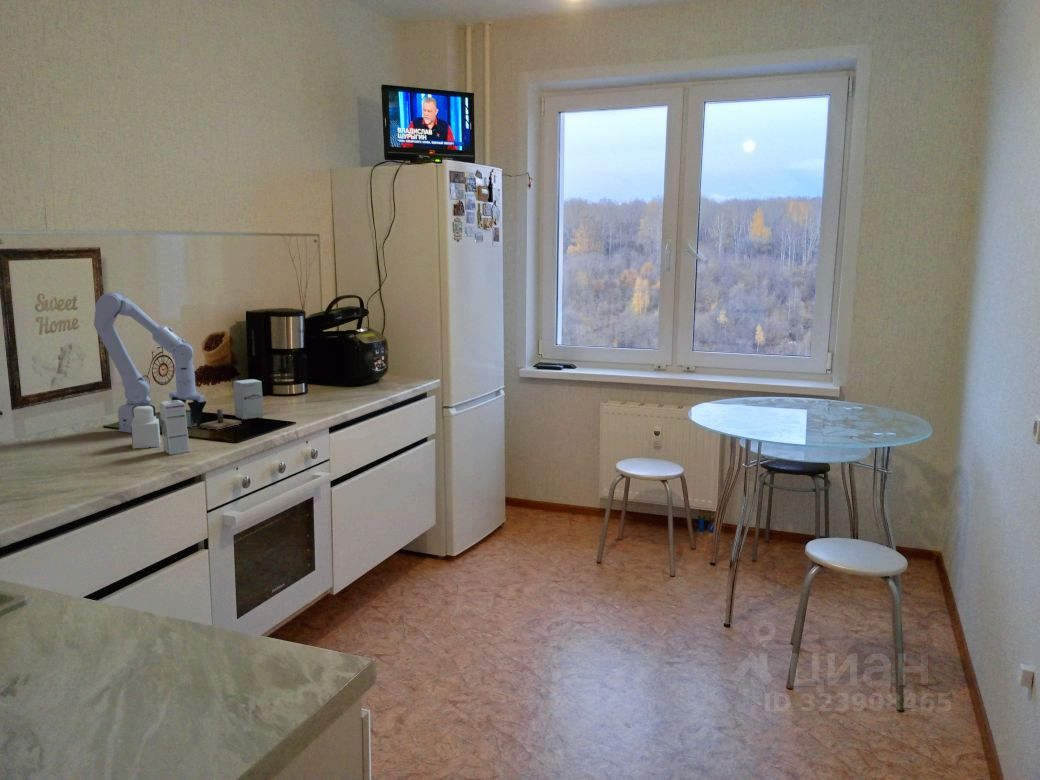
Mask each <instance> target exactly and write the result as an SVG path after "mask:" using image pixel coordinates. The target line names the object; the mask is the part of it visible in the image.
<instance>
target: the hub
mask: <svg viewBox="0 0 1040 780" xmlns="http://www.w3.org/2000/svg"><path fill="white" fill-rule="evenodd" d="M185 410H186V419H187V427H191V428H193V427H192V426H197V423H193V419H192V413H191V410H190V409H185Z"/></svg>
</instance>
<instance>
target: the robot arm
mask: <svg viewBox="0 0 1040 780" xmlns="http://www.w3.org/2000/svg"><path fill="white" fill-rule="evenodd" d="M94 307H95V311H94V312H95V313H94V319H93V326H94V329H95V331H96V332H97V334H98V336H99V338H100V340H101V341H102V343H103V345H104V348H105V349H106V351H107V353H108V355H109V357H110V358H111V359H110V360H112V362H113V364H114V366H115V368H116V370H117V372H118V374H119V376H120V377H121V383H122V385H123V388H124V397H125V399H126V401H125V402H126V403H125V404H123V405H120V406H119V408H118V410H117V415H118V425H119V428H118V432H123V433H128V434H131V424H132V421H133V413H132V408H133V407H135V406H137V405H144V404H150V405H153V404H152V399H151V398H150V396H149V395H150V394H151V392H152V391H151V390H152V387H151V384H150V383H149V382H148V381H147V380H145V379H144V377H143V376H142V374H141V373H140V372H139V371H138V370H137V367H136V366H135V364H134V361H133V360H132V358H131V356H130V354H129V353H128V351H127V348H126V346H125V344H124V343H123V341H122V339H121V337H120V335H119V333H118V331H117V329H116V327H115V326H114V324H115V322H116V319H117V317H118V316H124V317H125V316H126V317H131V318H132V319H133V320H135V321H136V322H137V323H138V324H139V325H140V326H142V327H143V328H145V329H146V330H147V331H148V332H149V333H151V334H152V340H153V341H154V342H156V343H157V344H158V345H159V346H160V347H161V348H162V349H164V350H165V351H166V352H168V354H169V353H170V354H171V357H172V358H173V360H174V374H175V376H174V377H175V387H176V391H171V392H170V391H169V392H168V398H169V399H170V400H180V401H182V402H184V403H185V404H186V403H187V405H188V407H189V410H191V413H192V419H193V423H196V424H201V419H202V414H203V411H204V408H205V406H206V404H207V400H206V397H205V396H206V395H204V394H200V393H199V391H197V390H196V389H197V388H196V376H195V373H196V372H195V366H194V358H193V356H194V348H193V346H192V345H191V344H190V343H189V342H187V341H186V340H185V339H184V338H181V337H180V336H178V335H177V334H176V333H175V332H174V328H172V327H168V326H166V325H159V324H158V323H157V322H156V321H154V319H152V318H151V317H150V316H149V315H148V314H147V313H145V311H143V310H142V309H141V308H140V307H139V306H138V305H137V304H136V303H134V302H133V300H131V299H129V298H127V297H125V296H124V294H122V293H121V292H118V291H109V292H106V293H104V294H101V296H99V298H98V300H97V302H96V303H95V306H94ZM185 341H186V342H185ZM170 400H168V401H170ZM187 401H190V402H187ZM160 427H161V426H160V425H159V429H160Z"/></svg>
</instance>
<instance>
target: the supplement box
mask: <svg viewBox="0 0 1040 780" xmlns="http://www.w3.org/2000/svg"><path fill="white" fill-rule="evenodd" d="M232 383H233V401H234V402H233V404H234V417H236V418H238V419H240V418H241V420H243V419H244V420H248V419H258V418H263V417H264V401H263V384H262V383H263V382H262V381H261V380H258V379H254V378H252V379H251V378H250V379H243V380H242V379H241V380H234V381H233V380H232Z"/></svg>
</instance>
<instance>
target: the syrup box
mask: <svg viewBox="0 0 1040 780" xmlns="http://www.w3.org/2000/svg"><path fill="white" fill-rule="evenodd" d="M158 403H159V412H160V413H159V414H160V415H159V416H160V424H161V432H162V434H161V435H162V436H161V437H162V443H163V446H162V447H163V451H164V452H165V453H166V454H168V455H170V456H173V455H178V454H185V453H189V452H190V441H189V432H188V429H189V428H187V419H186V410H187V409H186V402H185V403H184V402H182V401H180V400H171V399H170V401H169V400H165V401H159V402H158Z"/></svg>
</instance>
